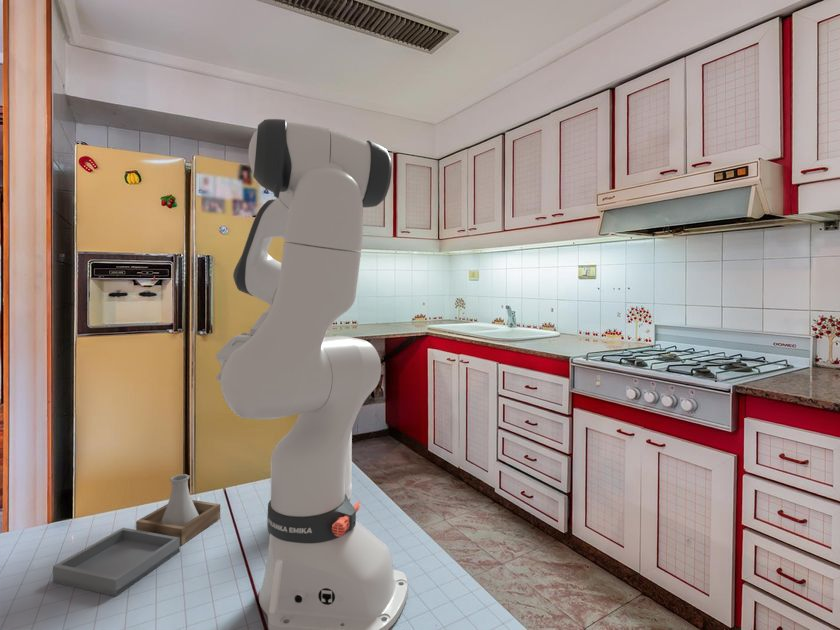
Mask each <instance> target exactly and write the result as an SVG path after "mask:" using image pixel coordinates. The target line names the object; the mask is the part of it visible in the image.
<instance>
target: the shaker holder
mask: <svg viewBox="0 0 840 630" xmlns="http://www.w3.org/2000/svg"><path fill="white" fill-rule="evenodd" d="M192 501H193V503H194V506H195V508H196V510H197V512H198V514H199V515H198V516H197V517H195V518H194V519H192V520H191V521H189V522H188V523H186V524H184V525H183V526H176V525H171V524H165V523H161V521H162V518H163V516H164V513H165V511H166V508H167V505H168V503H166V504H164V505H162V507H159V508H157V509H156V510H154V511H152V512H150V513H148V514H146V515H145V516H143V517H142V518H140V519H138V520H136V521H135V528H136V529H135V530H140V531H145V532H151V533H157V534H162V535H168V536H173V537H179V538H180V546H184V545H185V544H186V543H188V542H189V541H190V540H192V539H193V538H195V537H196V536H198V535H199V534H201V533H202V532H203V531H205V530H207V529H208V528H210V526H212V525H213V524H215V523H217V522H218V521H219V520H221V503H216V502H215V503H214V502H209V501H208V502H207V501H202V500H196V499H195V500H194V499H192Z"/></svg>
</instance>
